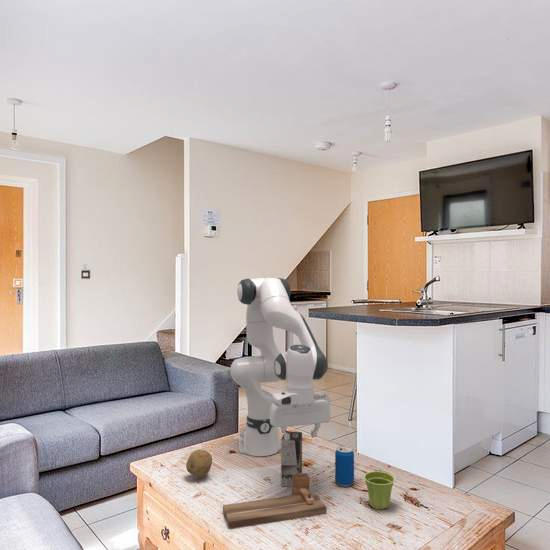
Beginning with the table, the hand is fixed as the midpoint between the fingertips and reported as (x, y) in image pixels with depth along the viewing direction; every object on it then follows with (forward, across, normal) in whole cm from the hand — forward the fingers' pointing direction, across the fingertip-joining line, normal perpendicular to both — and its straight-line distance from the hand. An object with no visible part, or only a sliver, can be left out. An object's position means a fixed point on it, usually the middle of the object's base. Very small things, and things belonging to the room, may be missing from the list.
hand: (300, 438), depth 151 cm
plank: (+19, +11, +7) cm, 23 cm away
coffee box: (+20, -1, -12) cm, 23 cm away
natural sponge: (+19, +30, -24) cm, 43 cm away
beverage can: (+20, -18, -5) cm, 27 cm away
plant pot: (+20, -22, +12) cm, 32 cm away
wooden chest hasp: (+19, 0, +4) cm, 20 cm away
